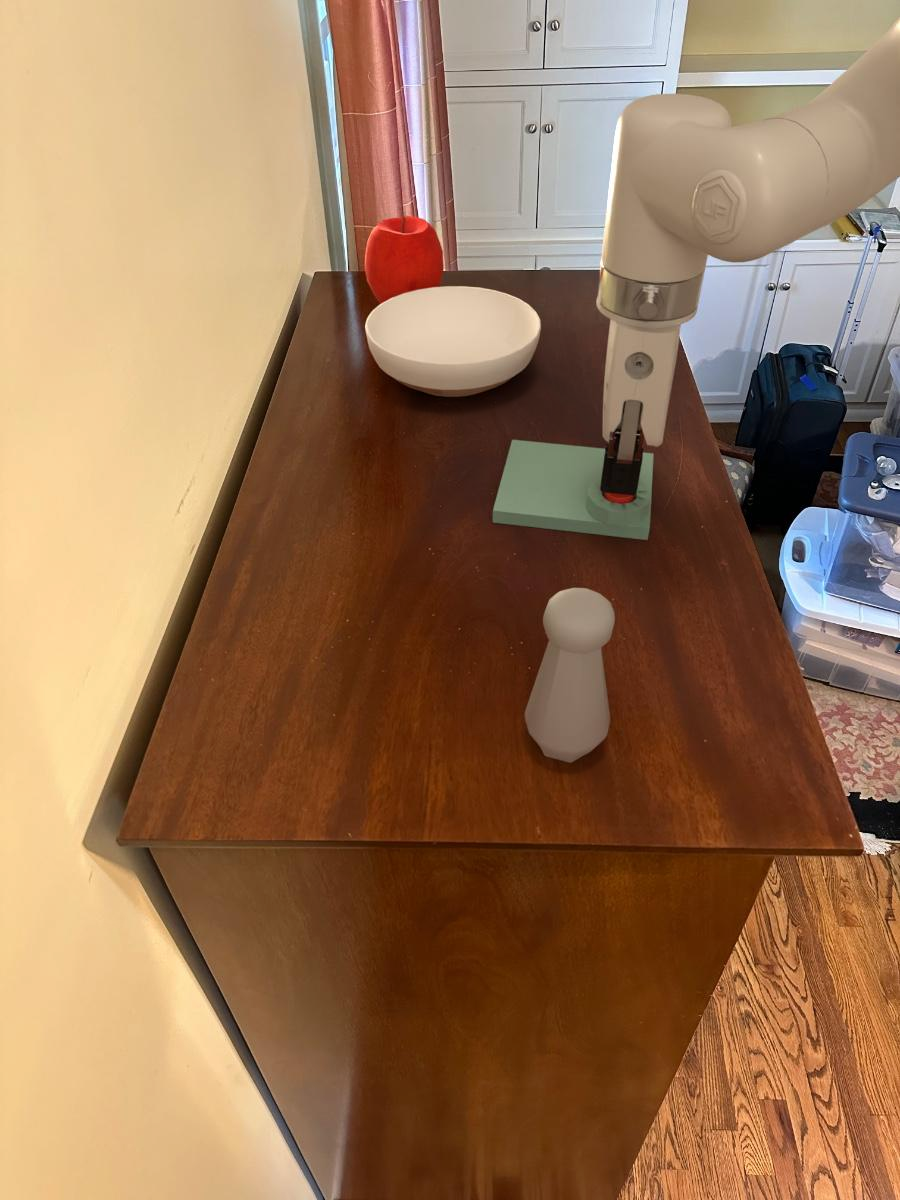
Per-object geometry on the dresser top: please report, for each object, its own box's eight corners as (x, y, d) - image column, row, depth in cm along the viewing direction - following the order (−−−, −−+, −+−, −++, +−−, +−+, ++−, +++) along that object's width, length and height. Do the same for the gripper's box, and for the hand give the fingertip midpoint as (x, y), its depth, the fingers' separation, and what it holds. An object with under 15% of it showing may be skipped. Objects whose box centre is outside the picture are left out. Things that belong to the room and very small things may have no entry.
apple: (409, 339, 106) (404, 238, 97) (351, 317, 110) (342, 219, 102) (460, 311, 111) (459, 213, 103) (403, 292, 116) (398, 197, 108)
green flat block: (651, 465, 85) (656, 439, 83) (647, 542, 76) (652, 515, 74) (511, 451, 87) (512, 425, 85) (492, 524, 79) (492, 497, 77)
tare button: (632, 498, 79) (635, 482, 77) (631, 515, 77) (633, 499, 75) (603, 495, 79) (606, 479, 78) (601, 512, 77) (604, 496, 76)
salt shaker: (604, 710, 62) (628, 575, 54) (607, 775, 58) (633, 641, 49) (524, 704, 63) (534, 570, 54) (521, 769, 59) (531, 634, 50)
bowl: (337, 365, 101) (331, 315, 97) (468, 320, 109) (468, 272, 105) (434, 436, 90) (433, 383, 85) (573, 379, 98) (578, 328, 94)
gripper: (701, 337, 58) (659, 546, 71) (699, 252, 69) (662, 447, 81) (590, 328, 59) (567, 535, 72) (605, 246, 70) (583, 439, 83)
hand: (618, 488), depth 77 cm, fingers closed
